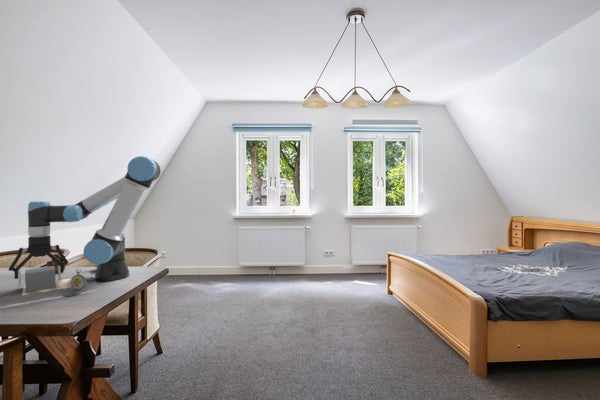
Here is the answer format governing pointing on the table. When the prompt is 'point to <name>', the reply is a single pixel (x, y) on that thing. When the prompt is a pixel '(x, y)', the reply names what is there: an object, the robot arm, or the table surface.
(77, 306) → the table surface
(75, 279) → the pocket watch
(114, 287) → the table surface
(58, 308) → the table surface
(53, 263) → the wooden carving
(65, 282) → the board
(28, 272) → the block
